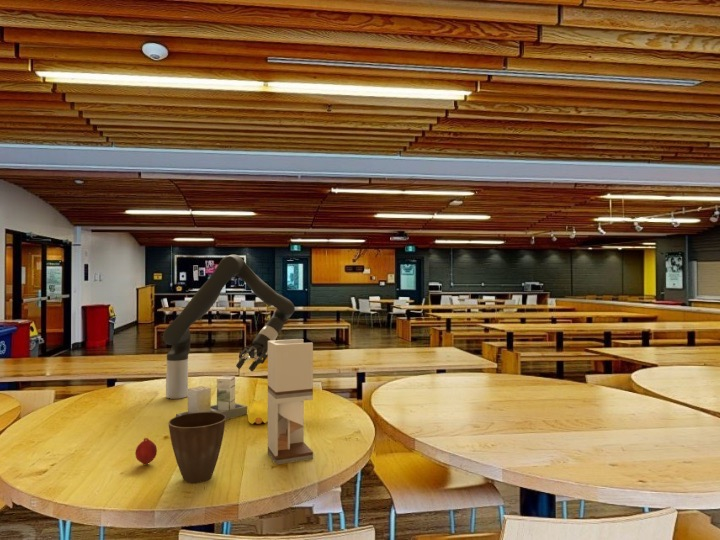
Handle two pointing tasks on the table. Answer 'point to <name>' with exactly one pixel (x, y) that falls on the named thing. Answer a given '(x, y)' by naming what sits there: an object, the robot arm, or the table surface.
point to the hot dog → (258, 412)
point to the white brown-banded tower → (288, 398)
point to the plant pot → (197, 443)
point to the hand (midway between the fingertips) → (244, 368)
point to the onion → (146, 451)
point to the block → (199, 399)
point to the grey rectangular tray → (229, 414)
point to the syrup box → (225, 393)
